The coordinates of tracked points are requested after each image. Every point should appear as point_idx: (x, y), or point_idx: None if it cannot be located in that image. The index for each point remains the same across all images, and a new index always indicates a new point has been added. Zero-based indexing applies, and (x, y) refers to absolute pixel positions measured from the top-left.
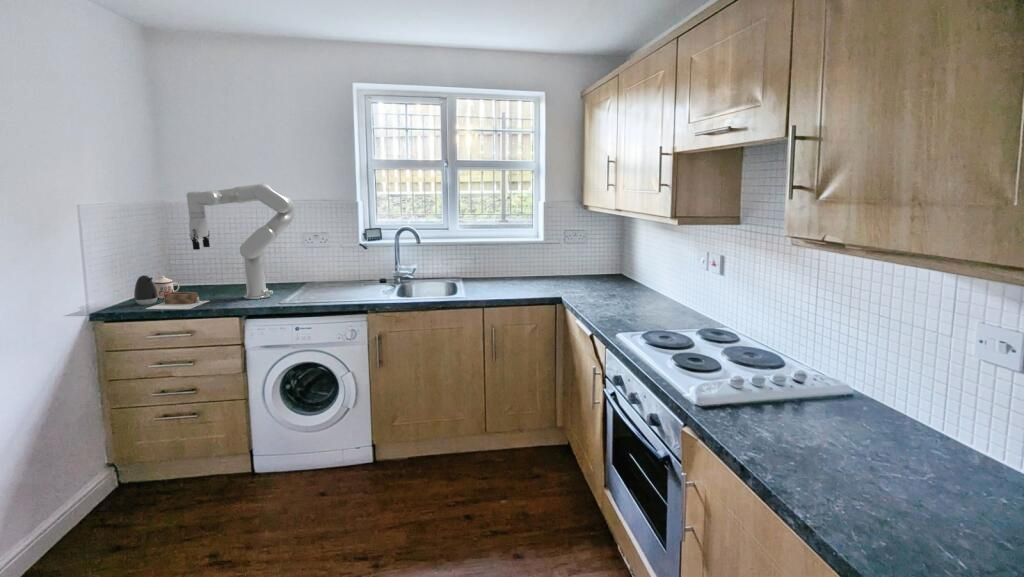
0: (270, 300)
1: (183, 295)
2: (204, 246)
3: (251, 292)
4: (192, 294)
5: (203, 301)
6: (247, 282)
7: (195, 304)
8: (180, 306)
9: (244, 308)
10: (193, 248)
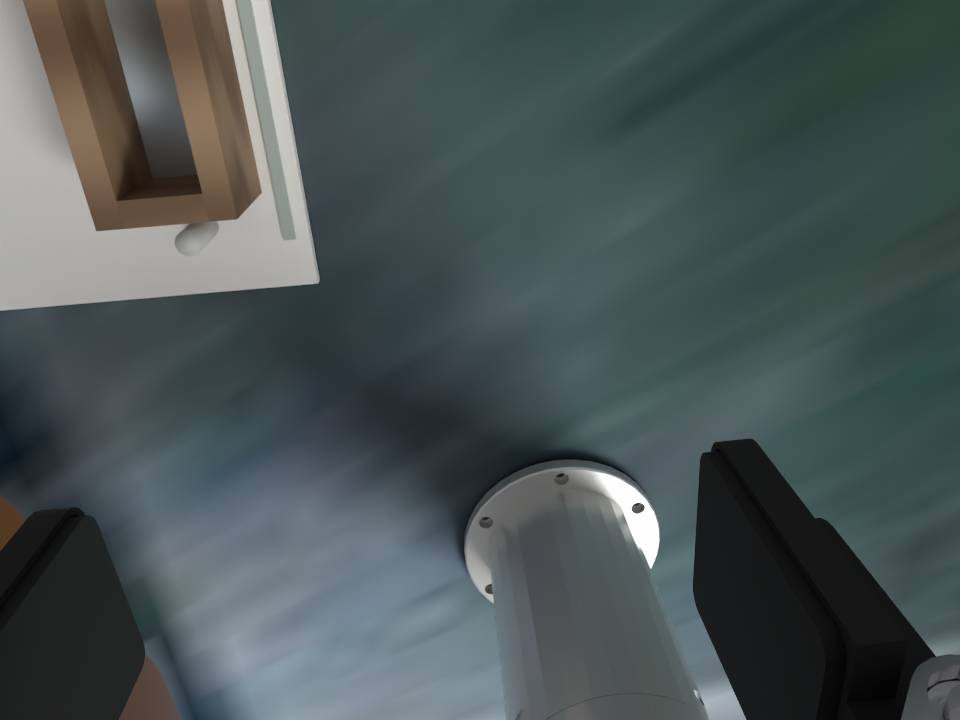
0: (446, 667)
1: (71, 133)
2: (708, 489)
3: (492, 575)
4: (126, 227)
5: (273, 240)
6: (511, 617)
7: (132, 248)
8: (4, 155)
9: (166, 645)
10: (24, 537)
